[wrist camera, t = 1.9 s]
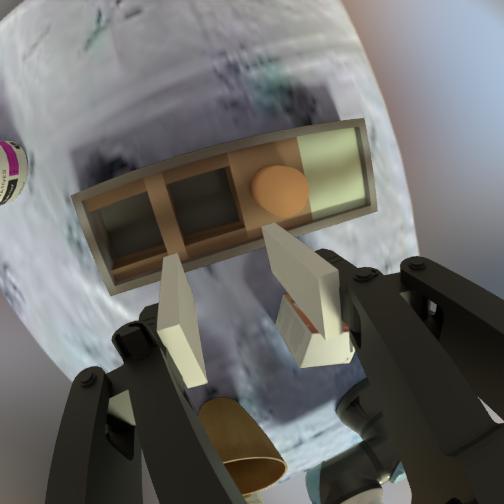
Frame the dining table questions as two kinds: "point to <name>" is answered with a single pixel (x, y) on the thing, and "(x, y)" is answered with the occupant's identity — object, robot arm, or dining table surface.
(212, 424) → the plant pot
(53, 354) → the dining table surface
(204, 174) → the track
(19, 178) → the supplement can
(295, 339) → the small box
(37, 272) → the dining table surface
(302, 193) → the brown egg
